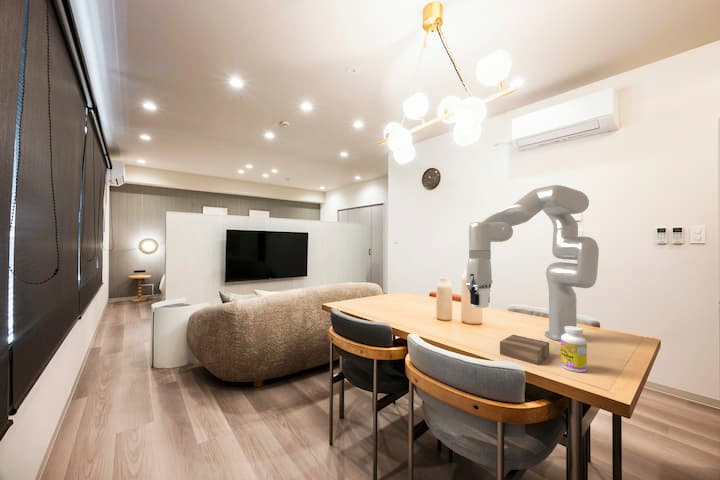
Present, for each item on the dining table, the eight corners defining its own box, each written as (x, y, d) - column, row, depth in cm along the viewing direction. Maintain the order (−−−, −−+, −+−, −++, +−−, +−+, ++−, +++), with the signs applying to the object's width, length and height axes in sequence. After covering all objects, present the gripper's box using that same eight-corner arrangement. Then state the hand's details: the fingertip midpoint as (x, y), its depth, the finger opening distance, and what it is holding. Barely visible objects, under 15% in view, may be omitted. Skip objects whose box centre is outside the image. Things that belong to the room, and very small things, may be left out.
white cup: (486, 304, 112) (486, 286, 112) (492, 308, 105) (492, 288, 105) (468, 303, 112) (467, 285, 112) (473, 307, 105) (473, 288, 106)
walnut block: (513, 347, 111) (513, 334, 112) (549, 356, 103) (549, 342, 103) (499, 355, 103) (499, 341, 104) (537, 366, 95) (537, 350, 95)
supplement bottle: (555, 364, 95) (555, 325, 95) (574, 363, 96) (574, 324, 96) (572, 373, 89) (572, 331, 89) (592, 372, 89) (592, 330, 89)
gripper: (482, 254, 117) (483, 299, 117) (457, 255, 107) (457, 304, 106) (501, 255, 111) (501, 302, 111) (476, 256, 101) (476, 308, 100)
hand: (480, 302), depth 109 cm, fingers closed on white cup, 6 cm apart
